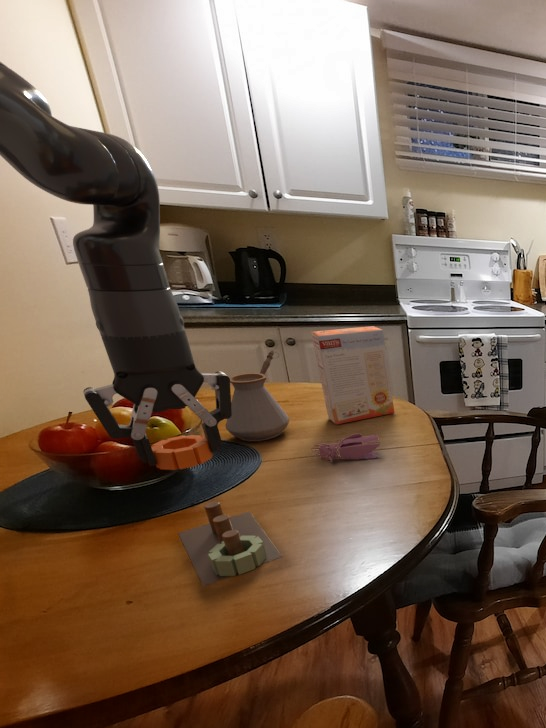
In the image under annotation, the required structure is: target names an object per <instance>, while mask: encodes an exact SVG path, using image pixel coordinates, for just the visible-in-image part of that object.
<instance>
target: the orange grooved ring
mask: <svg viewBox="0 0 546 728" xmlns="http://www.w3.org/2000/svg"><path fill="white" fill-rule="evenodd" d="M150 445H151V448H152V451H153V454H154V457H155V460H156V463H157V465H155V466H156V468H157V469H159V470H165V471H166V470H167V471H168V470H169V471H176V470H178V469H179V470H184V469H187V468H188V469H189V468H192V467H197V466H198V465H203V464H204V463H206V462H208V461H210V460H211V459H212V457H213V456H214V455H213V453H212V452H211V450H210V446H209V443H208V440H207V439H206V437H205V435H204V436H203V435H199V434H198V435H196V434H194V435H193V434H187V435H184V434H183V435H178V436H172V437H167V438H166V439H161V440H159V441H157V442H155V443H153V444H150Z"/></svg>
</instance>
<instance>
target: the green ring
mask: <svg viewBox="0 0 546 728" xmlns="http://www.w3.org/2000/svg"><path fill="white" fill-rule="evenodd" d="M240 538H241V542H242V545H243V548H244V551H245V552H243V553H240V554H237V555H234V556H228V553H227V550H226V547H225V544H224V541H222V542H221V543H222V544H217V545H216V546H215V547H214V548H212V549H211V550H210V551H209V554H208V557H209V560H210V562H211V565H212V568H213V570H214V572H215V573H216V575H220V576H230V577H236V575H238V576H241V575H243V574H246V573H248V572H250V571H253V570H256V567H255V566H257V567H260V566H262V565H261V563H262V562H263V561H264V560H265V559H266V556H267V555H266V551H265V547H264V544H263V541H262V540H261V539H260V538H259V537H256V536H240ZM237 573H238V574H237Z"/></svg>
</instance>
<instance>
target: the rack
mask: <svg viewBox="0 0 546 728" xmlns="http://www.w3.org/2000/svg"><path fill="white" fill-rule="evenodd" d="M203 508H204V510H205V514H206V516H207V520H208V522H209V523H206V524H203V525H200V526H196V527H193V528H189V529H186V530H184V531H183V530H182V531H179V532H177V534H178V536H179V539H180V541H181V543H182V545H183V547H184V550H185V551H186V553H187V555H188V557H189V560H190V562H191V564H192V566H193V568H194V570H195V572H196V574H197V576H198V579H199V581H200V583H201V585H202V587H205V586H208V585H211V584H214V583H216V582H219V581H222V580H224V579H227V578H230V577H231V576H220V575H216V573H215V572H214V570H213V568H212V565H211V562H210V560H209V557H208V554H209V551H210V550H211V549H212V548H214V547H215V546H216V545H217V544H222V543H221V542H222V541H224V544H225V547H226V550H227V553H228V556H234V555H237V554H240V553H243V552H245V551H244V548H243V545H242V542H241V538H240V536H256V537H259V538H260V539H261V540H262V541H263V544H264V547H265V551H266V555H267V556H266V559H265V560H264V561H263V562H262V563H261V565H260V566H262V565H264V564H268V563H270V562H272V561H275V560H278V559H281V558H283V557H284V556H283V555H282V553H281V552H280V551H279V549H278V548H277V547H276V546H275V544H274V542H273V541H272V540H271V538H269V536H268V535H267V533H266V532H265V530H264V529H263V528H262V526H261V525H260V524H259V522H258V521H257V520H256V518H255V517H254V515H253V514H252V512H250V511H245V512H243V513H239V514H237V515H233V516H229V515H227V514H224V512H223V509H222V506H221V503H220V501H217V500H215V501H210V502H207V503H205V505H204V506H203ZM257 567H258V566H255V568H257ZM236 575H239V574H238V573H237V574H236Z"/></svg>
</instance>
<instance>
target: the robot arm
mask: <svg viewBox="0 0 546 728" xmlns="http://www.w3.org/2000/svg"><path fill="white" fill-rule="evenodd" d="M0 157H1V158H2V159H3V160H5V161H6V163H8V164H9V165H10V166H11V167H12V168H13V169H14V170H15V171H16V172H17V173H18V174H19V175H20V176H22V177H23V178H24V179H26V180H27V181H28V182H30V183H31V184H32V185H34V186H35V187H37V188H39V189H41V190H42V191H44V192H46V193H47V194H49V195H51V196H54V197H56V198H58V199H60V200H63V201H66V202H69V203H74V204H76V205H77V204H78V205H87V206H88V205H91V206H92V209H93V222H92V226H90V227H89V228H87V229H84V230H82V231H79V232H78V233H75V235H74V236H73V238H72V246H73V251H74V254H75V257H76V260H77V263H78V266H79V269H80V272H81V274H82V275H81V276H82V277H83V281H84V283H85V286H86V288H87V293H88V296H89V303H90V307H91V311H92V315H93V317H94V320H95V321H94V322H95V326H96V329H98V332H99V335H100V337H101V340H102V343H103V346H104V349H105V351H106V354H107V357H108V360H109V363H110V366H111V369H112V371H113V374H114V375H113V376H114V377H113V380H112V383H111V384H107V385H104V386H100V387H91V386H88V387H85V388H84V389H83V396H84V399H85V401H86V402H87V404H88V405H89V407H90V408H91V410H92V411H93V413H94V414H95V416H96V417H97V419H98V421H99V422H100V424H101V425H102V427H103V428H104V430H105V431H106V433H107V435H108V436H109V437H110V438H111V439H113V440H118V439H129V440H130V441H132V443H133V445H134V449H135V451H136V454H137V457H138V459H139V461H141V462H142V463H144V464H145V463H148V465H149V466H150V467H152V466H153V467H154V466H156V465H157V463H156V460H155V457H154V454H153V451H152V448H151V445H152V444H151V442H150V439H149V437H148V435H147V433H146V431H147V427H148V424H149V423H150V420H151V417H152V413H153V414H157V413H163V412H166V411H168V410H182V409H186V407H188V408H189V410H191V412H192V413H194V414H195V415H196V416H197V417H198V418H199V419H200V420H201V421H202V422H201V427H202V431H203V434H204V436H205V437H206V439H207V440H208V443H209V446H210V450H211V452H212V454H213V453H218V452H219V448H221V447H222V446H223V445H222V444H223V440H222V437H221V434H220V430H219V423H221V421H224V420H227V419H229V418H230V417H231V416H232V410H231V402H232V396H231V395H232V394H231V383H230V377H229V376H228V375H227V374H226V373H225V372H224V371H222V370H218V371H216V372H214V373H207V372H205V373H204V372H203V373H202V372H201V371H199V370H198V369H197V367H196V363H195V360H194V356H193V353H192V350H191V347H190V342H189V339H188V335H187V332H186V328H185V320H184V318H183V316H182V314H181V311H180V308H179V305H178V303H177V300H176V298H175V296H174V294H173V291H172V289H171V287H170V281H169V279H168V274H167V272H166V268H165V264H164V260H163V257H162V255H161V252H160V236H161V210H160V209H161V204H160V203H161V202H160V192H159V186H158V181H157V178H156V176H155V173H154V171H153V169H152V167H151V165H150V164H149V162H148V161H147V159H146V157H145V156H144V155H143V154H142V152H141V151H140V150H139V149H138V148H137V147H135V145H133V144H132V143H130V142H129V141H128V140H126V139H125V138H122V137H120V136H118V135H115V134H113V133H112V134H111V133H107V132H102V131H98V130H92V129H88V128H82V127H78V126H73V125H69V124H67V123H65V122H63V121H62V120H60V119H58V118H56V117H54V116H52V109H51V107H50V104H49V102H48V101H47V99H46V97H45V96H44V95H43V94H42V93H41V92H40V91H39V89H37V88H36V87H35V86H34V85H33V84H32V83H31V82H29V81H28V80H27V79H25V78H24V77H23V76H21V75H20V74H19V73H17V72H16V71H14V70H13V69H12V68H10V67H8V66H7V65H6V64H4V63H3V62H1V61H0ZM204 383H207V385H208V387H209V388H210V389H211V390H213V391H214V397H215V409H213V410H211V411H209V410H208V409H207V408H206V407H205V406H204V405H203V404H202V403H201V401H199V400H198V399H197V397H196V396H197V394H198V392H199V391H200V389H201V387H202V385H203V384H204ZM116 394H117V395H119V396H120V397H122V398H123V399H125V400H127V401H129V402H130V403H132V404H133V406H132V411H131V417H130V421H129V424H128V425H127V424H119V423H118V421H117V419H116V417H115V416H114V414H113V413H112V411H111V409H110V408H109V406H111V405H113V404H114V399H113V397H114V395H116Z"/></svg>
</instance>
